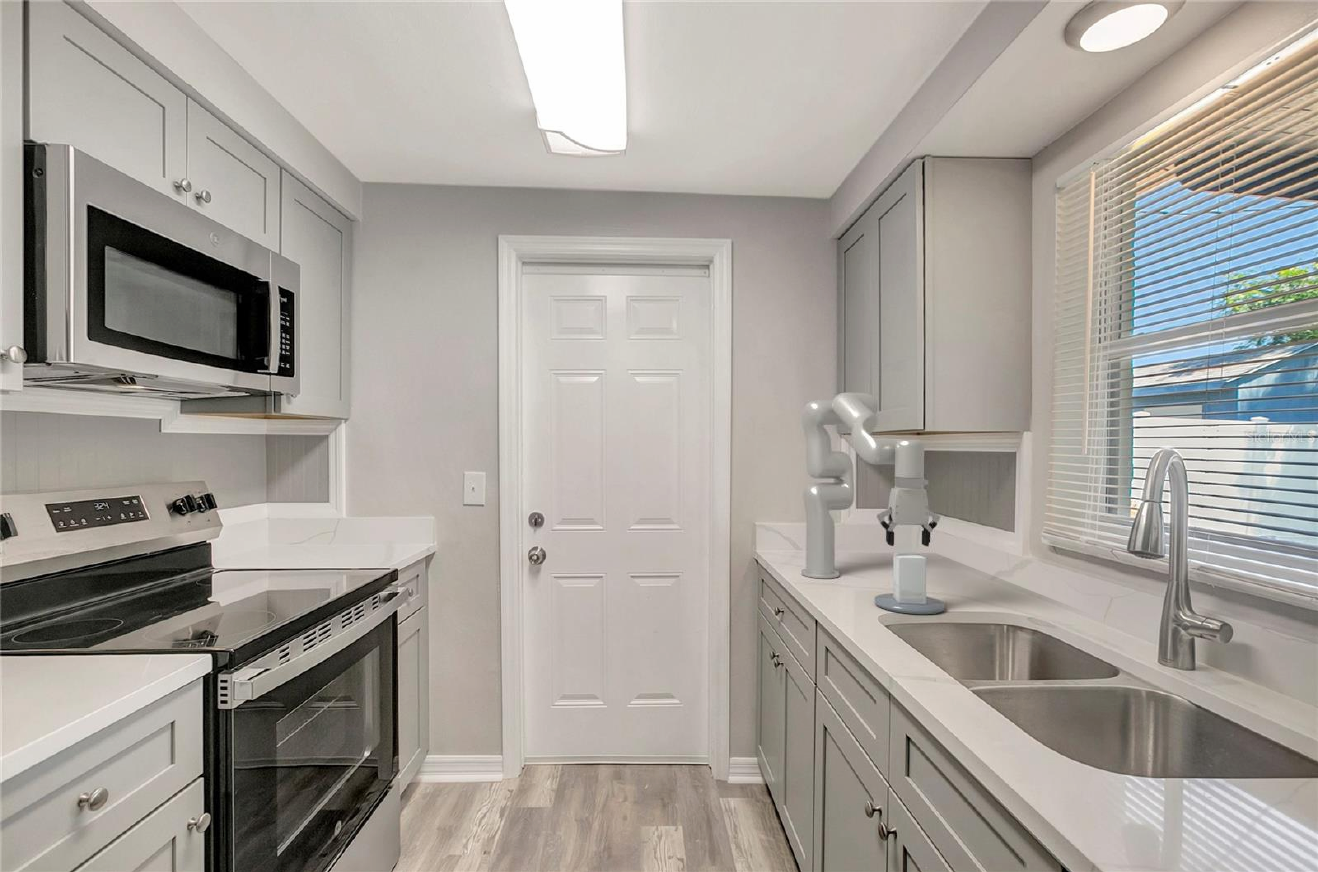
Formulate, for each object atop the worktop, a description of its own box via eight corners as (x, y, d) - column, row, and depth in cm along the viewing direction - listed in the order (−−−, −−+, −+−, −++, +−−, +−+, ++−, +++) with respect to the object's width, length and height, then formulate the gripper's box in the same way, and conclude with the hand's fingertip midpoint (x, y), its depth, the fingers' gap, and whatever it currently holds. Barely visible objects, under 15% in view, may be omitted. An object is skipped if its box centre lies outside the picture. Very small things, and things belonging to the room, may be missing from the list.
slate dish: (865, 598, 182) (865, 593, 182) (927, 598, 182) (927, 593, 182) (888, 615, 164) (888, 609, 164) (956, 615, 164) (956, 609, 164)
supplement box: (926, 604, 169) (926, 558, 169) (898, 603, 171) (898, 557, 171) (920, 598, 177) (920, 553, 177) (892, 597, 178) (892, 552, 178)
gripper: (934, 483, 178) (932, 543, 178) (873, 482, 178) (872, 542, 178) (946, 485, 170) (945, 548, 170) (882, 484, 170) (881, 547, 170)
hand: (907, 545), depth 174 cm, fingers open, 9 cm apart
